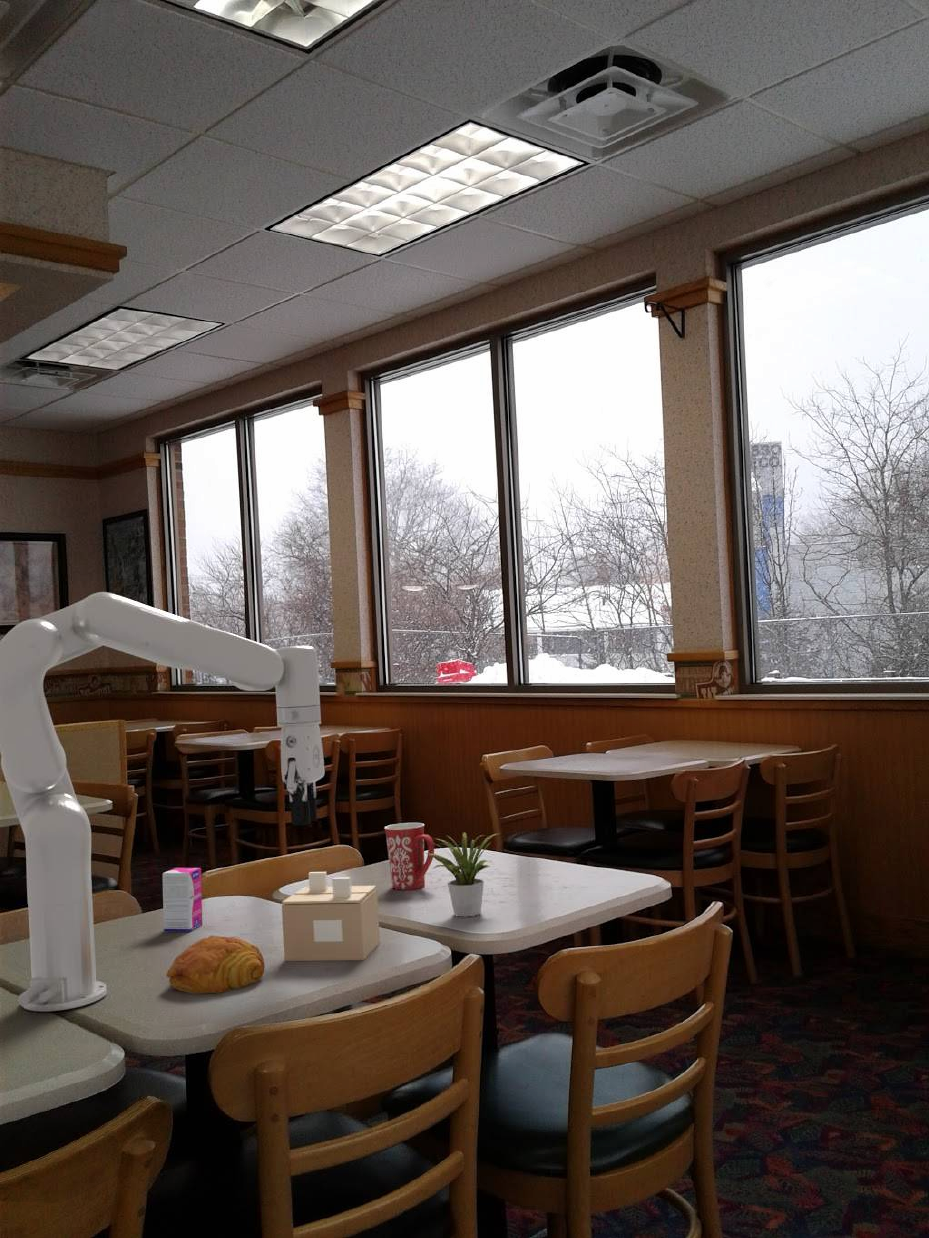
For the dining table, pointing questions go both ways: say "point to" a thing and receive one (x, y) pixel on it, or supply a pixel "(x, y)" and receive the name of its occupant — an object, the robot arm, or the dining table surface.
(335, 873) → the dining table surface
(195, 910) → the supplement box
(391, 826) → the mug
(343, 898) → the flap near
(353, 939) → the carton
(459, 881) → the house plant
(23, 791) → the robot arm
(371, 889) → the flap far
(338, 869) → the dining table surface
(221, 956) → the croissant
